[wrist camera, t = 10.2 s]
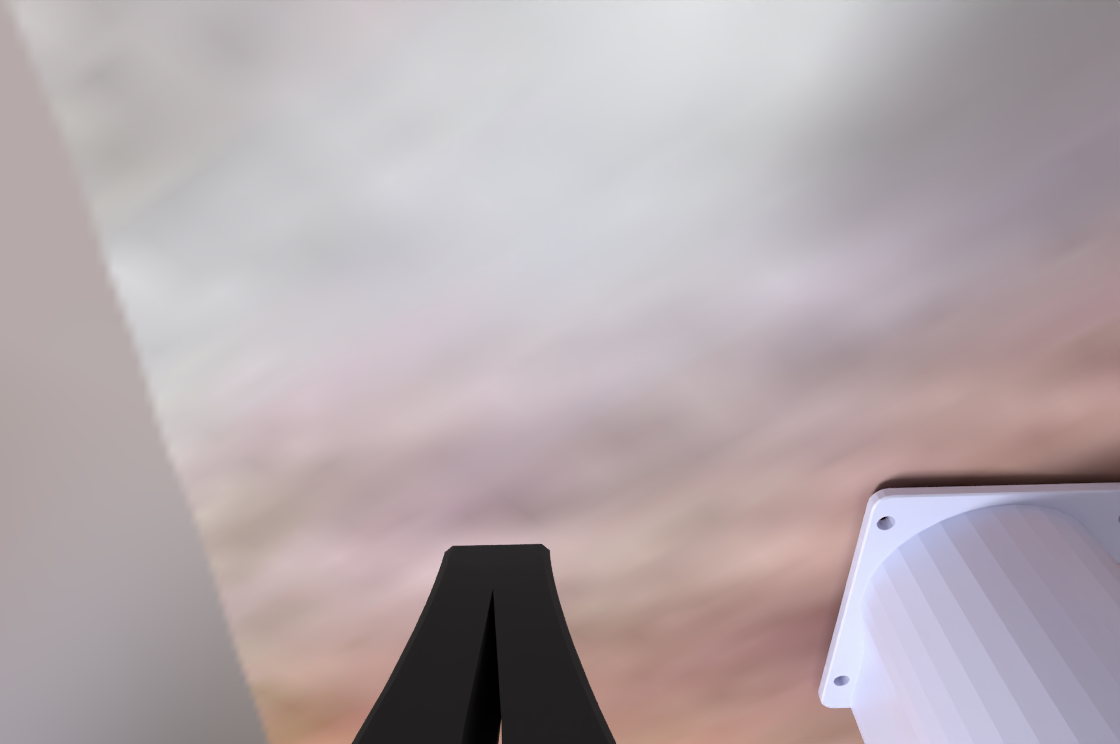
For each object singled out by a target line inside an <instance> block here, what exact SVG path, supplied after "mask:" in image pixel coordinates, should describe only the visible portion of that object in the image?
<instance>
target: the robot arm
mask: <svg viewBox="0 0 1120 744" xmlns="http://www.w3.org/2000/svg"><path fill="white" fill-rule="evenodd" d="M887 516H888V517H887ZM883 517H887V518H886V519H884V520H880V519H881V518H883ZM879 520H880V521H879ZM1119 563H1120V483H1080V484H1039V485H999V486H958V487H918V488H887V489H882V490H880V491H877V492H876V493H874V494H873V495H872V496H871V497H870V499H869V501H868V504H867V507H866V511H865V515H864V519H863V523H862V527H861V530H860V534H859V538H858V542H857V546H856V549H855V553H854V557H853V561H852V565H851V569H850V572H849V576H848V580H847V584H846V588H845V592H844V595H843V599H842V603H841V607H840V611H839V614H838V618H837V622H836V626H835V630H834V634H833V637H832V641H831V645H830V649H829V653H828V657H827V660H826V664H825V668H824V672H823V676H822V679H821V683H820V687H819V691H818V693H819V697H820V700H821V703H822V704H823V705H824V706H826V707H829V708H850V707H851V709H852V712H853V714H854V717H855V719H856V722H857V725H858V727H859V730H860V732H861V735H862V738H863V740H864V743H865V744H1120V565H1119ZM501 722H502V744H616V742H615V740H614V738H613V736H612V733H611V731H610V729H609V727H608V725H607V723H606V721H605V719H604V716H603V714H602V712H601V710H600V708H599V705H598V703H597V701H596V699H595V696H594V694H593V692H592V689H591V687H590V685H589V682H588V680H587V677H586V675H585V672H584V669H583V667H582V664H581V662H580V659H579V657H578V654H577V652H576V649H575V647H574V644H573V641H572V638H571V636H570V633H569V630H568V627H567V624H566V621H565V617H564V614H563V611H562V608H561V605H560V601H559V598H558V594H557V590H556V586H555V582H554V577H553V572H552V567H551V560H550V550H549V549H547V548H546V547H545V546H544V545H542V544H520V545H474V546H452V547H451V548H450V549H448V550H447V551H446V552H445V554H444V557H443V560H442V563H441V566H440V569H439V572H438V575H437V577H436V580H435V583H434V585H433V588H432V590H431V593H430V595H429V597H428V600H427V602H426V605H425V607H424V609H423V611H422V613H421V616H420V618H419V620H418V622H417V624H416V626H415V629H414V631H413V633H412V635H411V637H410V639H409V641H408V643H407V645H406V647H405V649H404V651H403V652H402V654H401V656H400V658H399V660H398V662H397V664H396V666H395V668H394V670H393V672H392V674H391V676H390V678H389V680H388V682H387V684H386V685H385V687H384V689H383V691H382V693H381V694H380V696H379V698H378V699H377V701H376V703H375V705H374V706H373V708H372V710H371V711H370V713H369V715H368V717H367V718H366V720H365V722H364V723H363V725H362V727H361V729H360V730H359V732H358V734H357V735H356V737H355V739H354V741H353V742H352V744H498V742H499V733H500V724H501Z"/></svg>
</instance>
